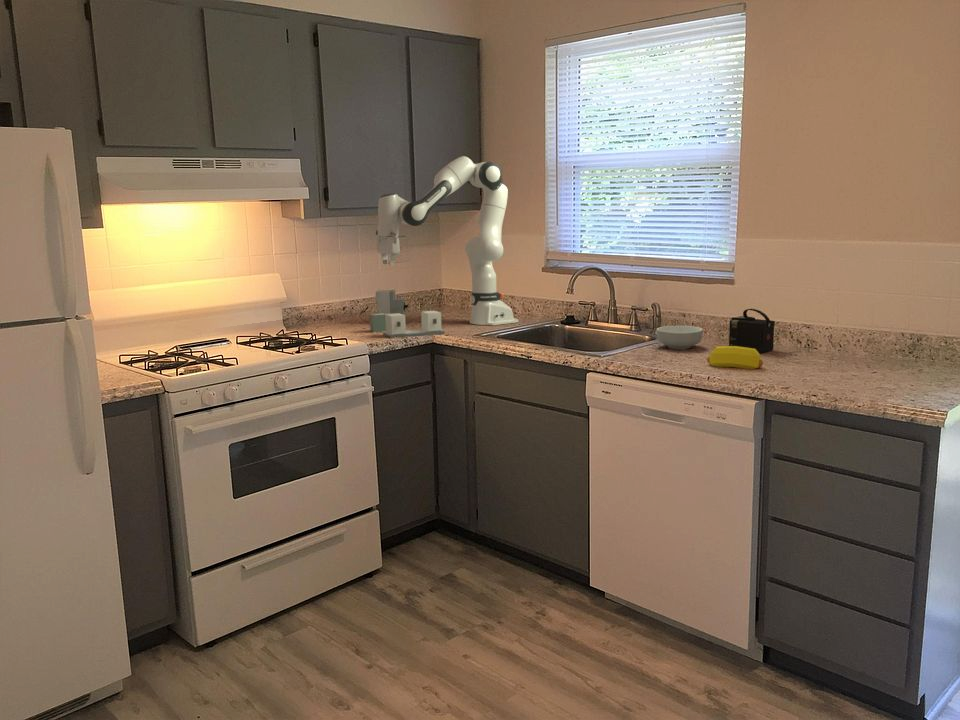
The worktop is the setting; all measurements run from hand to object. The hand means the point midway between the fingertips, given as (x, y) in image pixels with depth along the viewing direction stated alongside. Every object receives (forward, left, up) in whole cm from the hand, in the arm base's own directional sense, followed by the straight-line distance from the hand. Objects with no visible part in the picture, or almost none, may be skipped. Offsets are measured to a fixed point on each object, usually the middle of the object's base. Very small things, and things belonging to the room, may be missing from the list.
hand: (388, 264), depth 355 cm
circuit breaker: (-8, -21, -29) cm, 37 cm away
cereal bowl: (-81, +96, -29) cm, 129 cm away
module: (+5, 0, -29) cm, 29 cm away
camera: (-100, +113, -29) cm, 153 cm away
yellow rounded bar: (-74, +134, -29) cm, 155 cm away
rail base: (-5, +16, -29) cm, 33 cm away
